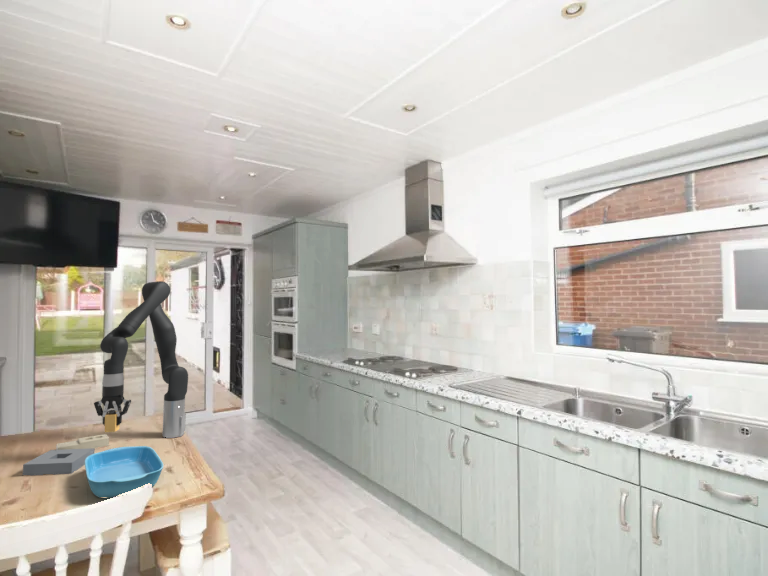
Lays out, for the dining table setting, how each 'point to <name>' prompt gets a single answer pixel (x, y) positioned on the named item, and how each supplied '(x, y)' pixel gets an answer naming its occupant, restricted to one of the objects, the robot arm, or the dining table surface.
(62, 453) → the socket
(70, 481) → the dining table surface
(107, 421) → the plug
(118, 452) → the casserole dish
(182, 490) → the dining table surface
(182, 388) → the robot arm
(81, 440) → the electrical outlet
